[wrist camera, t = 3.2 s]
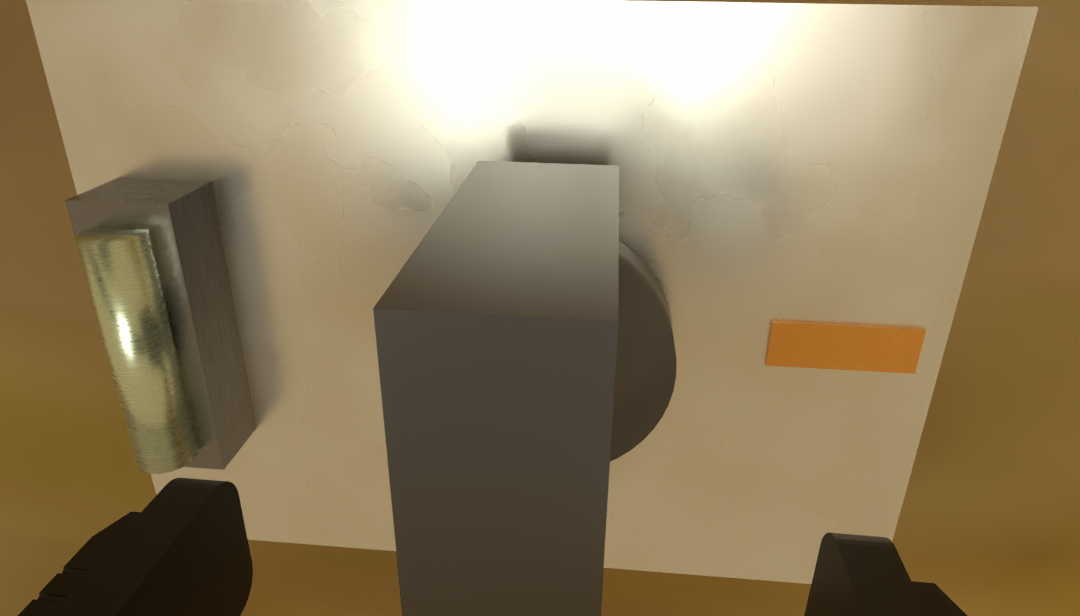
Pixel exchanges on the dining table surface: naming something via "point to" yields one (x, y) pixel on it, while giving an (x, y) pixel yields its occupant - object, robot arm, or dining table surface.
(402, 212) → the levelling base
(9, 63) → the dining table surface
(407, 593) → the wing knob
